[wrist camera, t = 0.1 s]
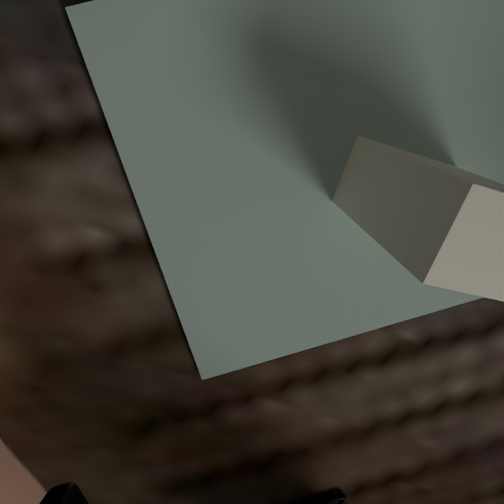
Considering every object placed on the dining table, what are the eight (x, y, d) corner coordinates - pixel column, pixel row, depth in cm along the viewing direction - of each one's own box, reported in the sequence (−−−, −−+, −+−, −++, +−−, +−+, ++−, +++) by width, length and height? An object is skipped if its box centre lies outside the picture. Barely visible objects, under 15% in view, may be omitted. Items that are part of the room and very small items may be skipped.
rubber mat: (533, 277, 27) (538, 280, 27) (201, 374, 26) (202, 380, 25) (567, -113, 18) (576, -117, 18) (68, 8, 17) (64, 7, 17)
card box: (427, 226, 24) (558, 313, 15) (331, 201, 22) (422, 283, 14) (456, 166, 22) (615, 227, 14) (357, 135, 21) (473, 183, 13)
